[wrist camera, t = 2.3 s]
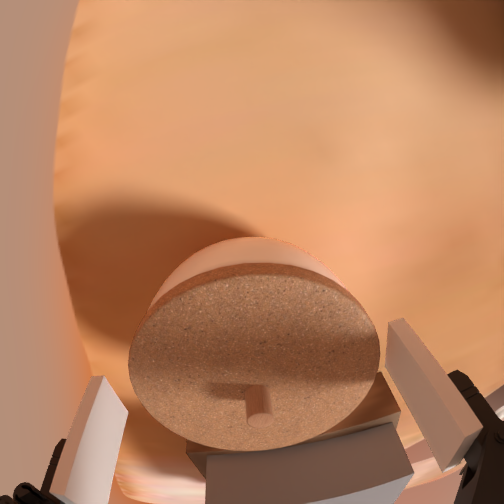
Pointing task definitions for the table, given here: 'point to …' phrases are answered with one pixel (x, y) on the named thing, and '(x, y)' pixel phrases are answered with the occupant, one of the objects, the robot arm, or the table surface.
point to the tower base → (361, 418)
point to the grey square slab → (314, 472)
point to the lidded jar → (253, 347)
